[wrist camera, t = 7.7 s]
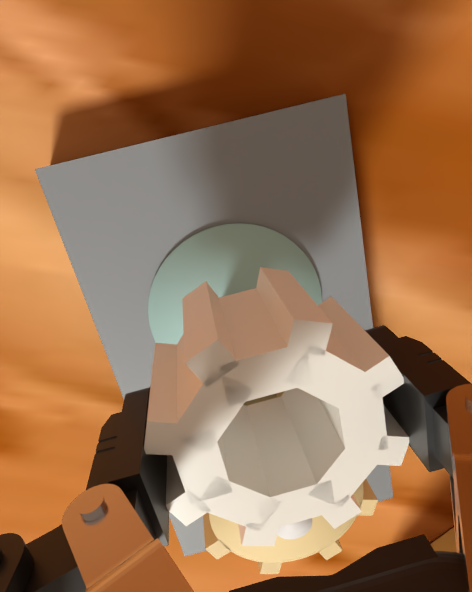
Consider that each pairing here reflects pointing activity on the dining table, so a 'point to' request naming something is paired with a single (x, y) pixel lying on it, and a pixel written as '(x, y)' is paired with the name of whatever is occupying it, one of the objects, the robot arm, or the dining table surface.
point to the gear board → (218, 256)
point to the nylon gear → (270, 409)
